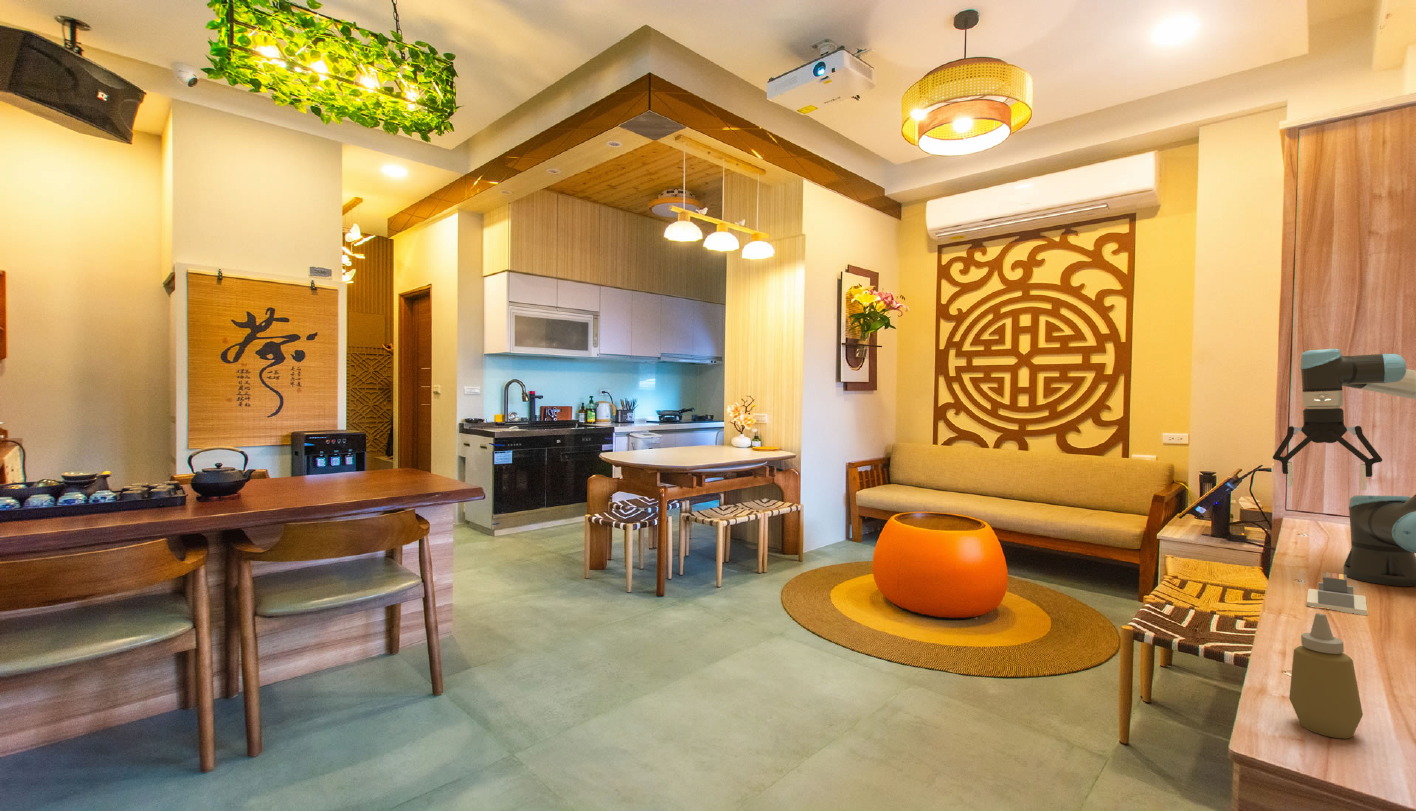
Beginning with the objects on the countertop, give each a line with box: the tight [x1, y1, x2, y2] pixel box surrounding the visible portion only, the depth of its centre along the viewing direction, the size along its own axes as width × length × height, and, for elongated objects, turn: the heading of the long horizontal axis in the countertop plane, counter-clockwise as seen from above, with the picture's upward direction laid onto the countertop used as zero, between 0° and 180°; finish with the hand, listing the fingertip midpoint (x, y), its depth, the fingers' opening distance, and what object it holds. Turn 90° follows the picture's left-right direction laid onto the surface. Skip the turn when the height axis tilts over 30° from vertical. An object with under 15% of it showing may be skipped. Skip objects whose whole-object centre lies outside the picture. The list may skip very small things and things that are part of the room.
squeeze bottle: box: [1289, 612, 1364, 739], centre depth 95 cm, size 8×8×18 cm
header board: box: [1306, 581, 1368, 616], centre depth 149 cm, size 14×10×4 cm
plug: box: [1322, 571, 1348, 594], centre depth 148 cm, size 6×4×6 cm, turn 134°
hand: (1326, 488), depth 160 cm, fingers open, 13 cm apart
